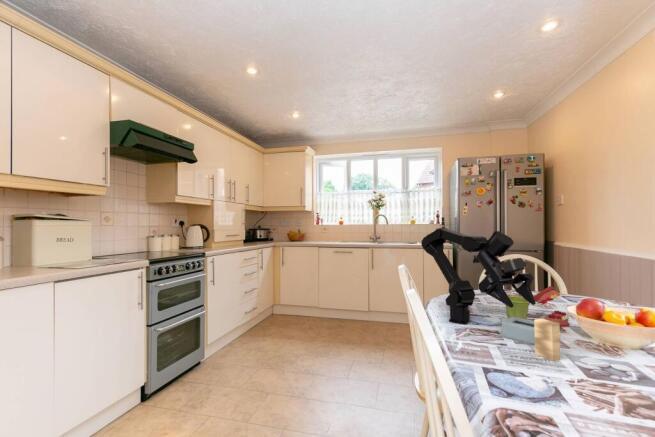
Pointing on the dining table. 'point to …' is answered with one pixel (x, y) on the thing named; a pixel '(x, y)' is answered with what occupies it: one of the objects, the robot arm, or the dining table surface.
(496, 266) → the robot arm
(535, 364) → the dining table surface
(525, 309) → the plant pot
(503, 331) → the block
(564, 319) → the anatomical model
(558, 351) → the upright wooden block
